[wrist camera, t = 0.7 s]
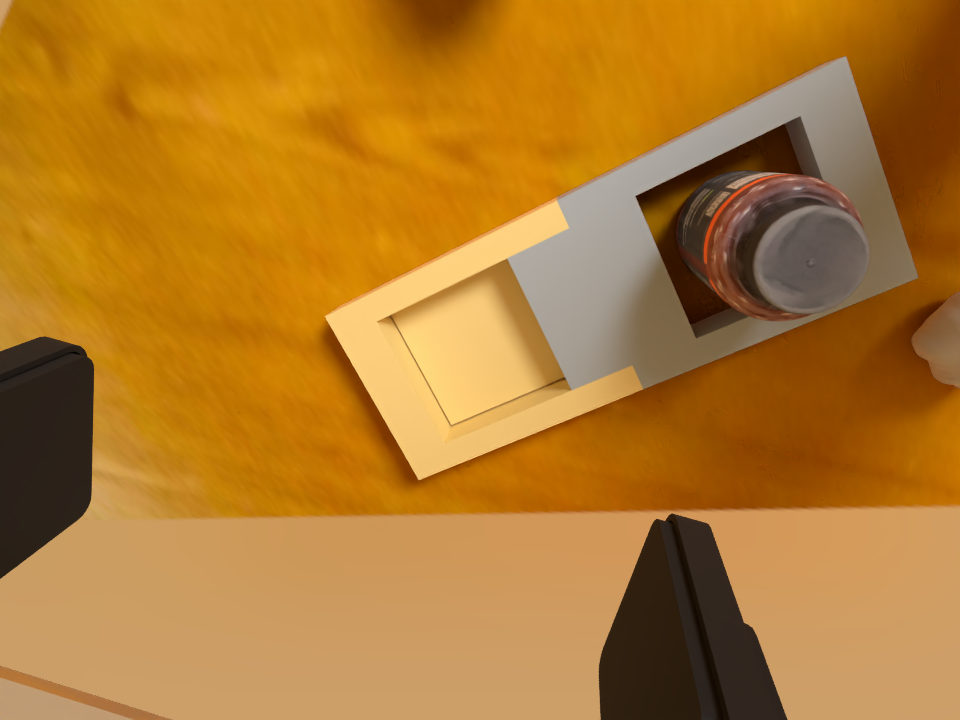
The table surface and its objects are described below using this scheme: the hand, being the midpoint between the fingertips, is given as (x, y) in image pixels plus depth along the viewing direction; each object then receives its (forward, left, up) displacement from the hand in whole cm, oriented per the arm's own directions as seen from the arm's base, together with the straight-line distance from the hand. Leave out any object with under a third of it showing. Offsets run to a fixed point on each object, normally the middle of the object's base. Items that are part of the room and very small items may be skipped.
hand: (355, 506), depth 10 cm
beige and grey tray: (-4, +4, -27) cm, 27 cm away
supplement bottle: (-11, +4, -27) cm, 29 cm away
